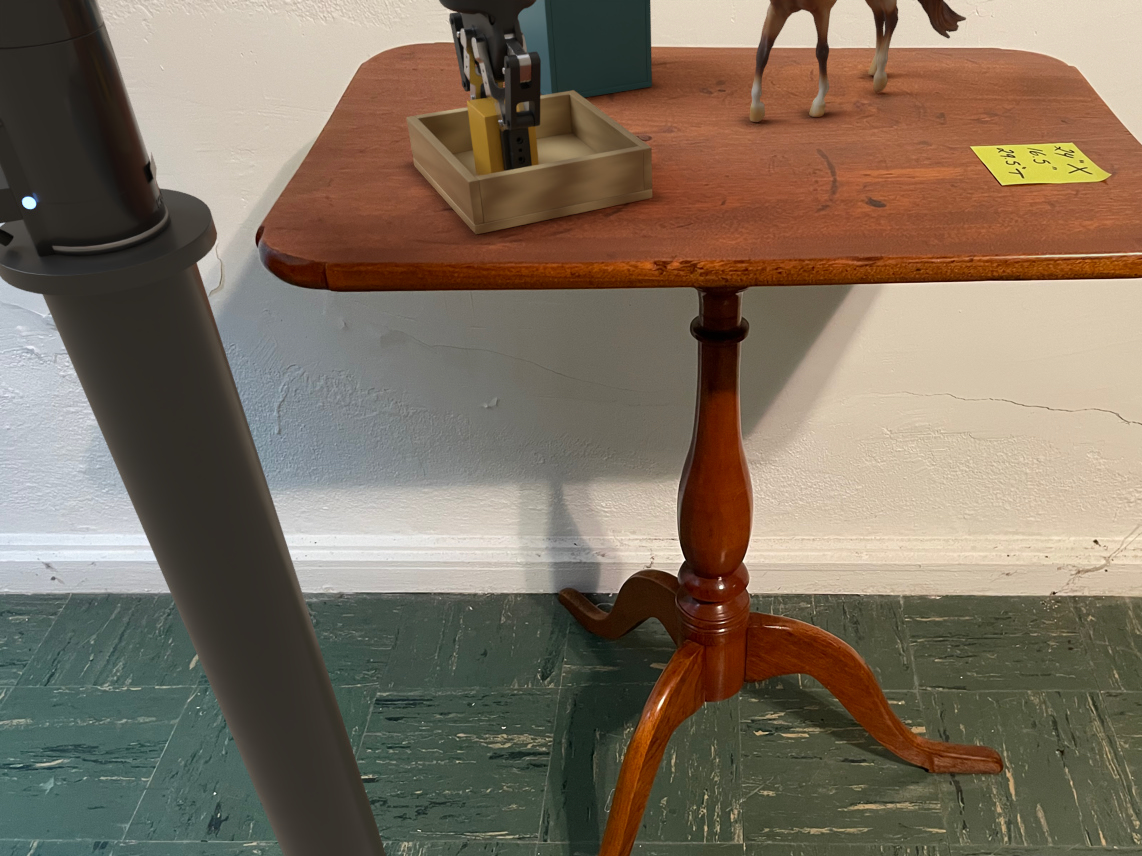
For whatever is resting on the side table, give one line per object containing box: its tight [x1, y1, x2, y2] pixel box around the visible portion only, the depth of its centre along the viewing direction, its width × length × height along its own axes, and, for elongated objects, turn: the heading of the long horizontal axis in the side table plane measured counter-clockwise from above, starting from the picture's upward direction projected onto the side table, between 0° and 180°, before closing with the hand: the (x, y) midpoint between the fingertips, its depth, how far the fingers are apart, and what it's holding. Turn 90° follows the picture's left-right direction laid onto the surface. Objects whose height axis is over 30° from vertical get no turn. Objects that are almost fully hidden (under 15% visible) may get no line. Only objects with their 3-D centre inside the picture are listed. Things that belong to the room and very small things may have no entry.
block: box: [466, 98, 539, 176], centre depth 89 cm, size 4×4×6 cm
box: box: [405, 90, 653, 235], centre depth 91 cm, size 16×16×4 cm
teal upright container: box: [518, 0, 653, 99], centre depth 110 cm, size 11×11×11 cm
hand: (506, 160), depth 90 cm, fingers open, 5 cm apart
